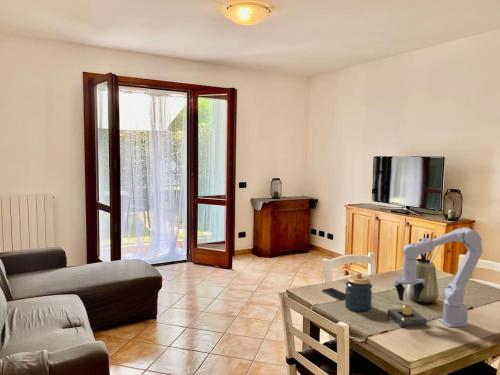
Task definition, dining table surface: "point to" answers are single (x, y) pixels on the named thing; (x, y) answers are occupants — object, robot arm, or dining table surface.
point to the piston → (406, 310)
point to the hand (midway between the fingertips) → (408, 299)
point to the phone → (334, 293)
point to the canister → (358, 293)
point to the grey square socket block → (407, 318)
